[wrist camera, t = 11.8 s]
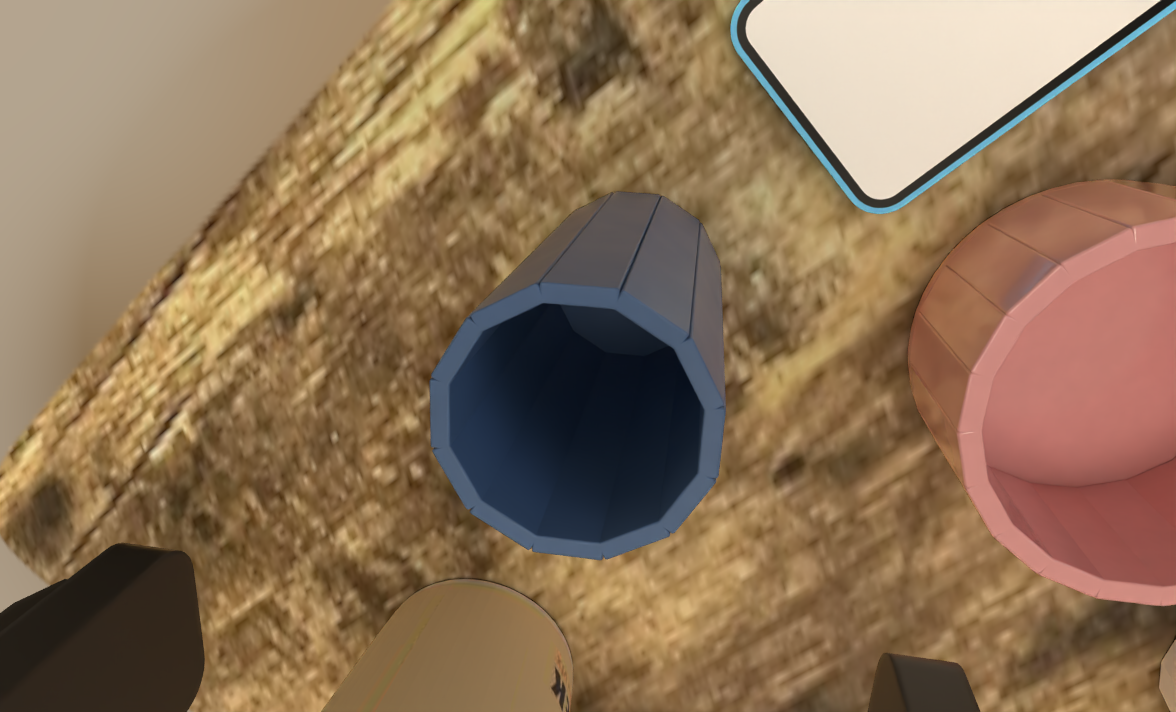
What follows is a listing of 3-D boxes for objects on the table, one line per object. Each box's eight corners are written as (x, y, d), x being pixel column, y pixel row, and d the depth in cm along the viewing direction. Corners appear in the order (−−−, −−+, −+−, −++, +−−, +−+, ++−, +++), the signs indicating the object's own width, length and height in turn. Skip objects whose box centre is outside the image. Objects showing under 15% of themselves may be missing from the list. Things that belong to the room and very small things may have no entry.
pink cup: (1318, 191, 23) (1511, 230, 18) (1209, 511, 27) (1342, 629, 21) (940, 167, 24) (1008, 195, 19) (882, 476, 28) (925, 578, 22)
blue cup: (727, 198, 26) (738, 298, 14) (710, 368, 27) (707, 574, 16) (549, 186, 26) (427, 272, 15) (544, 353, 28) (431, 540, 17)
